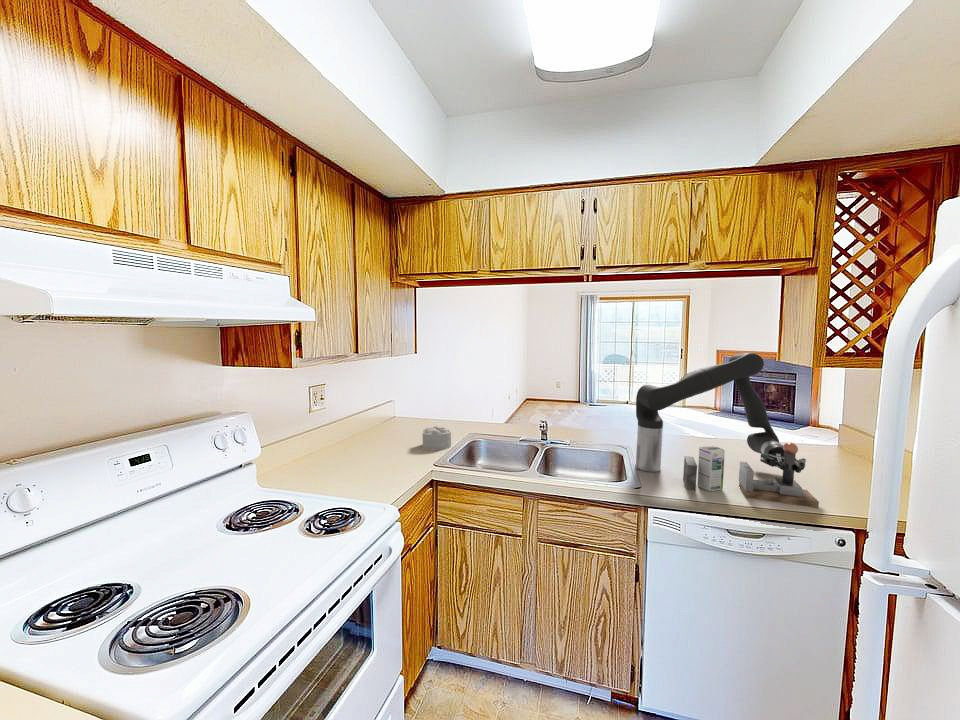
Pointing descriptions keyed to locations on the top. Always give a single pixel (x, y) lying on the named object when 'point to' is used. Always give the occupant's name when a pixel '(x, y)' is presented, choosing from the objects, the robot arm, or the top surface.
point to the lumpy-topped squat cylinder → (436, 438)
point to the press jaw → (778, 485)
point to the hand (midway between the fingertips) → (792, 469)
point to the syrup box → (711, 468)
